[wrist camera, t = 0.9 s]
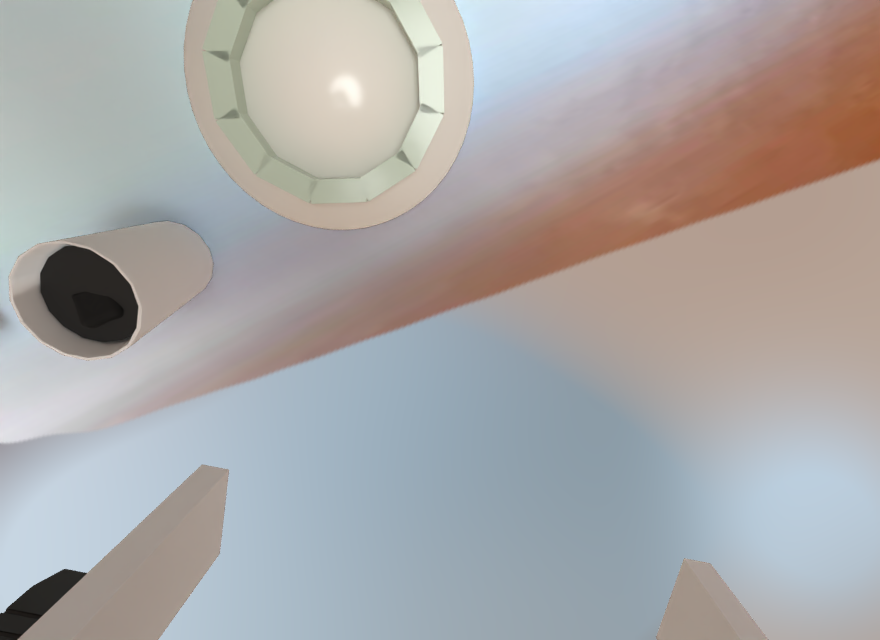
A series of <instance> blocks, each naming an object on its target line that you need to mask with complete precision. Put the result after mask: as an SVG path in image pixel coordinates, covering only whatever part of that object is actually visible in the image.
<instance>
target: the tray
mask: <svg viewBox="0 0 880 640" xmlns="http://www.w3.org/2000/svg"><path fill="white" fill-rule="evenodd" d="M184 71H185V78H186V85H187V91H188V95H189V99H190V103H191V107H192V111H193V113H194V116H195V118H196V121H197V124H198V126H199V129H200V131H201V133H202V135H203V137H204V139H205V141H206V143H207V145H208V147H209V149H210V150H211V152H212V153H213V155H214V156H215V158H216V159H217V161H218V162H219V164H220V165H221V166H222V167H223V169H224V170H225V171H226V172H227V173H228V175H229V176H230V177H231V178H232V179H233V181H235V182H236V183H237V184H238V185H239V186H240V187H241V188H242V189H243V190H244V191H245V192H246V193H247V194H248V195H250V196H251V197H252V198H254V199H255V200H256V201H258V202H259V203H260V204H262V205H263V206H265V207H267V208H268V209H270V210H272V211H273V212H275V213H277V214H279V215H281V216H283V217H286V218H288V219H290V220H292V221H295V222H298V223H301V224H305V225H308V226H312V227H318V228H324V229H335V230H350V229H360V228H366V227H370V226H374V225H378V224H381V223H384V222H386V221H389V220H391V219H394V218H396V217H398V216H400V215H402V214H403V213H405V212H407V211H409V210H410V209H412V208H413V207H414V206H416V205H417V204H418V203H420V202H421V201H422V200H424V199H425V198H426V197H427V196H428V195H429V194H430V193H431V192H432V191H433V190H434V189H435V188H436V187H437V186H438V184H439V183H440V182H441V181H442V179H443V178H444V177H445V175H446V174H447V173H448V171H449V169H450V168H451V166H452V164H453V163H454V161H455V159H456V157H457V155H458V153H459V151H460V148H461V146H462V144H463V142H464V139H465V135H466V132H467V129H468V125H469V122H470V116H471V110H472V105H473V90H474V76H473V61H472V55H471V50H470V44H469V39H468V36H467V33H466V29H465V26H464V23H463V20H462V17H461V15H460V13H459V10H458V8H457V6H456V3H455V1H454V0H193V1H192V4H191V7H190V11H189V16H188V20H187V24H186V31H185V41H184Z"/></svg>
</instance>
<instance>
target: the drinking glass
mask: <svg viewBox="0 0 880 640" xmlns="http://www.w3.org/2000/svg"><path fill="white" fill-rule="evenodd" d="M212 272H213V260H212V256H211V253H210V250H209V247H208V246H207V245H206V244H205V242H204V241H203V240H202V238H201V237H200V236H199V234H197V233H196V232H194V231H193V230H191V229H190V228H188V227H187V226H185V225H183V224H179V223H175V222H171V221H162V222H154V223H149V224H143V225H138V226H132V227H127V228H121V229H116V230H111V231H105V232H100V233H94V234H89V235H83V236H78V237H72V238H67V239H61V240H56V241H50V242H45V243H39V244H37V245H35V246H34V247H32V248H31V249H29V250H28V251H26V252H25V253H23V254H21V255H20V256H18V258H17V260H16V262H15V264H14V266H13V268H12V271H11V273H10V275H9V297H10V302H11V304H12V306H13V308H14V310H15V312H16V314H17V316H18V318H19V320H20V322H21V324H22V325H23V326H24V327H25V328H26V329H27V330H28V331H29V332H30V333H31V334H32V335H33V336H34V337H35V338H36V339H37V340H38V341H39V342H40V343H42V344H44V345H46V346H47V347H49V348H51V349H53V350H55V351H56V352H58V353H60V354H62V355H64V356H69V357H74V358H78V359H83V360H88V361H90V360H97V359H105V358H112V357H114V356H115V355H117V354H119V353H120V352H122V351H124V350H125V349H127V348H129V347H130V346H131V345H133V344H134V343H135V342H137V341H138V340H139V339H140V338H142V337H143V336H144V335H146V334H147V333H148V332H150V331H151V330H152V329H153V328H155V327H156V326H157V325H159V324H160V323H161V322H162V321H164V320H165V319H166V318H168V317H169V316H170V315H172V314H173V313H174V312H175V311H177V310H178V309H179V308H181V307H182V306H183V305H184V304H186V303H187V302H188V301H190V300H191V299H192V298H194V297H195V296H196V295H197V294H199V293H200V292H201V291H203V290H204V289H205V288H206V286H207V284H208V283H209V281H210V280H211V278H212Z"/></svg>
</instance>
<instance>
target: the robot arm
mask: <svg viewBox="0 0 880 640" xmlns="http://www.w3.org/2000/svg"><path fill="white" fill-rule="evenodd" d="M228 474H229V470H228V469H223V468H218V467H212V466H207V465H201V466H200V467H199V468H198V469H197V470H196V471H195V472H194V473H193V474H192V475H191V476H189V477H188V478H187V479H186V480H185V481H184V482H183V483H182V484H181V485H180V486H179V487H178V488H177V489H176V490H175V491H174V492H173V493H172V494H170V495H169V496H168V497H167V498H166V499H165V500H164V501H163V502H162V503H161V504H160V505H159V506H158V507H157V508H156V509H155V510H154V511H153V512H152V513H151V514H149V515H148V516H147V517H146V518H145V519H144V520H143V521H142V522H141V523H140V524H139V525H138V526H137V527H136V528H135V529H134V530H133V531H132V532H131V533H129V534H128V535H127V536H126V537H125V538H124V539H123V540H122V541H121V542H120V543H119V544H118V545H117V546H116V547H115V548H114V549H112V551H110V552H109V553H108V554H107V555H106V556H105V557H104V558H103V559H102V560H101V561H100V562H99V563H98V564H97V565H96V566H95V567H94V568H92V569H91V570H90V571H89V572H88V573H83V572H78V571H73V570H68V569H64V570H62V571H60V572H58V573H56V574H54V575H52V576H51V577H49V578H47V579H45V580H43V581H41V582H39V583H37V584H36V585H34V586H33V587H31V588H30V589H29V590H28V591H26V592H25V593H24V594H23V595H22V596H21V597H19V598H18V599H17V600H16V601H15V602H14V603H12V604H11V605H10V606H9V607H8V608H7V609H6V611H5V612H4V613H1V614H0V640H158V639H159V638H160V636H161V635H162V634H163V632H164V631H165V629H166V628H167V627H168V625H169V624H170V622H171V621H172V620H173V618H174V617H175V615H176V614H177V613H178V611H179V610H180V608H181V607H182V606H183V604H184V603H185V601H186V600H187V599H188V597H189V596H190V594H191V593H192V592H193V590H194V589H195V587H196V586H197V585H198V583H199V582H200V580H201V579H202V578H203V576H204V575H205V573H206V572H207V571H208V569H209V568H210V566H211V565H212V563H213V562H214V561H215V559H216V558H217V557H218V555H219V553H220V547H221V537H222V528H223V519H224V510H225V500H226V492H227V482H228ZM656 639H657V640H768V639H767V637H766V636H765V635H764V633H763V632H762V631H761V629H760V628H759V627H758V625H757V624H756V623H755V621H754V620H753V619H752V618H751V616H750V615H749V614H748V612H747V611H746V610H745V608H744V607H743V606H742V604H741V603H740V602H739V600H738V599H737V598H736V596H735V595H734V594H733V593H732V591H731V590H730V589H729V587H728V586H727V585H726V583H725V582H724V581H723V579H722V578H721V577H720V575H719V574H718V573H717V572H716V570H715V569H714V568H713V566H712V565H711V564H710V563H705V562H700V561H695V560H690V559H685V558H684V560H683V563H682V566H681V569H680V572H679V575H678V577H677V580H676V583H675V586H674V588H673V591H672V594H671V597H670V600H669V603H668V605H667V608H666V611H665V614H664V617H663V619H662V622H661V625H660V628H659V631H658V634H657V636H656Z"/></svg>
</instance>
